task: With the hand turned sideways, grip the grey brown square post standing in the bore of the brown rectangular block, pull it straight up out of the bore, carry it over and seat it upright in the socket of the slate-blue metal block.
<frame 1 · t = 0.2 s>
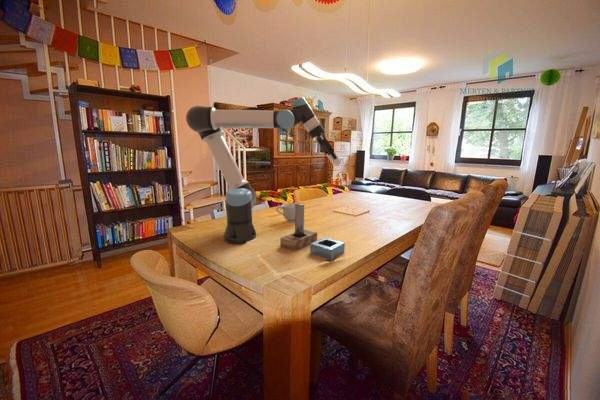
hand: (336, 164, 131), 35 cm above the table, fingers open, 13 cm apart
teacup: (289, 221, 152), on the table
brown rectangular block: (299, 245, 115), on the table
socket block: (327, 254, 105), on the table
grey brown square post: (299, 243, 115), point 1 cm above the table, touching brown rectangular block
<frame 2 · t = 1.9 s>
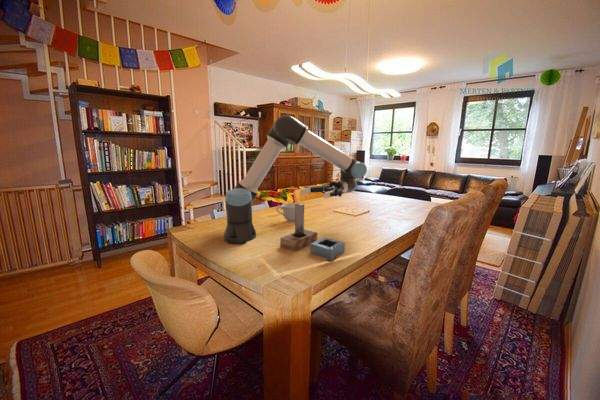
hand: (312, 193, 118), 22 cm above the table, fingers open, 13 cm apart
nothing on the table moved.
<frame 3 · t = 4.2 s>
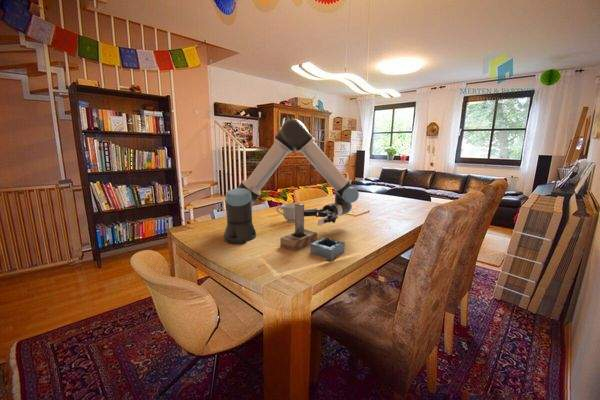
hand: (306, 219, 115), 11 cm above the table, fingers open, 13 cm apart
nothing on the table moved.
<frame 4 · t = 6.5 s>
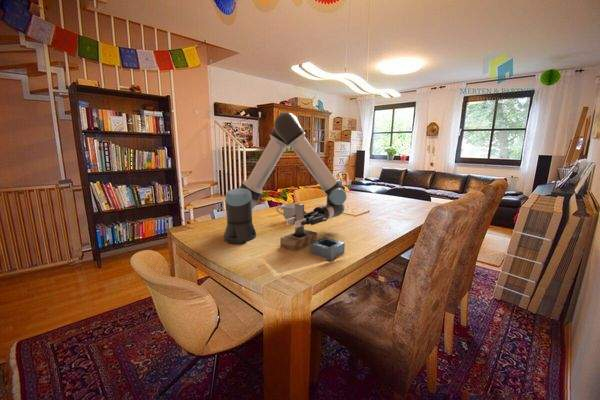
hand: (291, 223, 109), 12 cm above the table, fingers closed on grey brown square post, 4 cm apart
grey brown square post: (299, 243, 115), point 1 cm above the table, touching brown rectangular block, gripper
everything else where it was.
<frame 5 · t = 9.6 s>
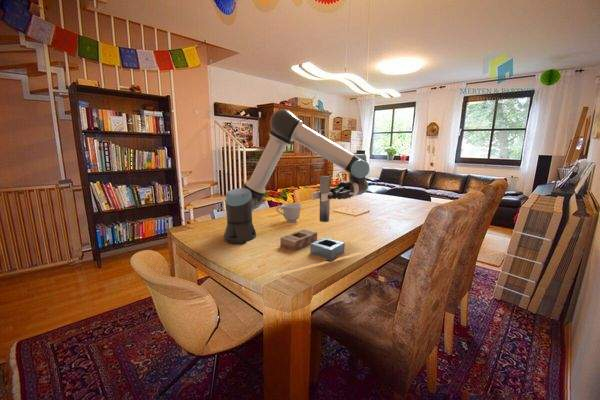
hand: (317, 197, 98), 24 cm above the table, fingers closed on grey brown square post, 4 cm apart
grey brown square post: (324, 220, 105), point 14 cm above the table, touching gripper
everything else where it was.
when the fingers open (13 cm above the table, at t = 13.1 s): grey brown square post drops 1 cm, resting on socket block.
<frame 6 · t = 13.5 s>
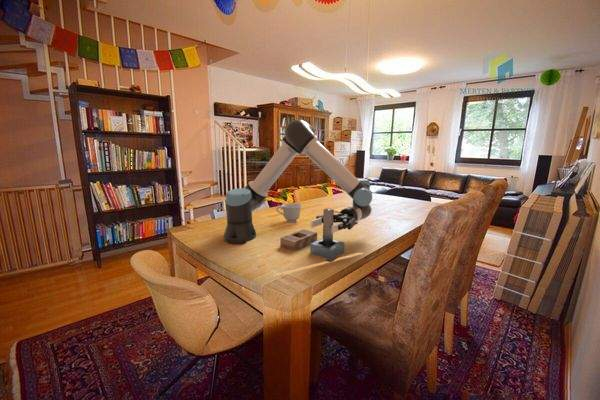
hand: (321, 226, 99), 13 cm above the table, fingers open, 9 cm apart
grey brown square post: (327, 252, 105), point 1 cm above the table, touching socket block
everything else where it was.
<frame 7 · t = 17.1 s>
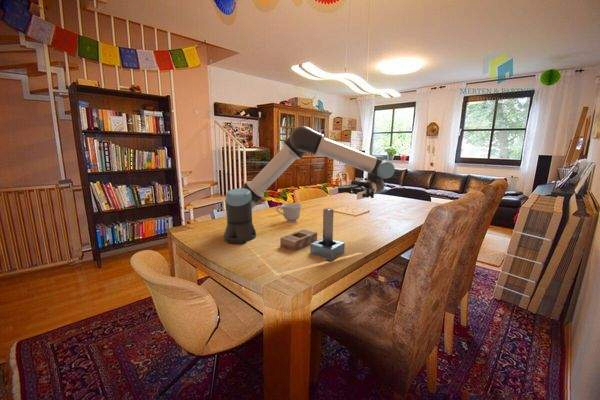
hand: (343, 194, 108), 24 cm above the table, fingers open, 13 cm apart
nothing on the table moved.
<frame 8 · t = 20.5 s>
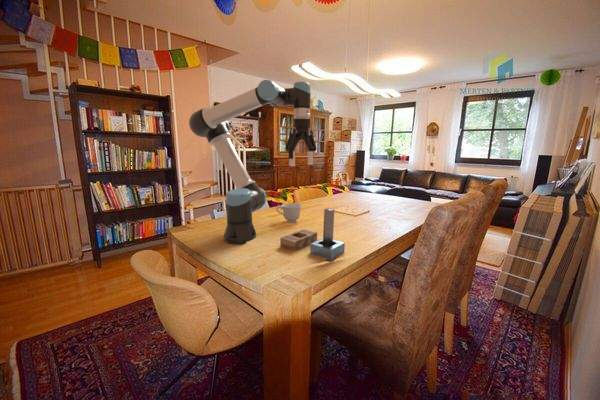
hand: (301, 165, 122), 35 cm above the table, fingers open, 13 cm apart
nothing on the table moved.
at the end: grey brown square post 0.0 cm off-centre on the socket block, point 1.0 cm above the socket block's base; grey brown square post tilted 1°; the gripper is holding nothing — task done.
